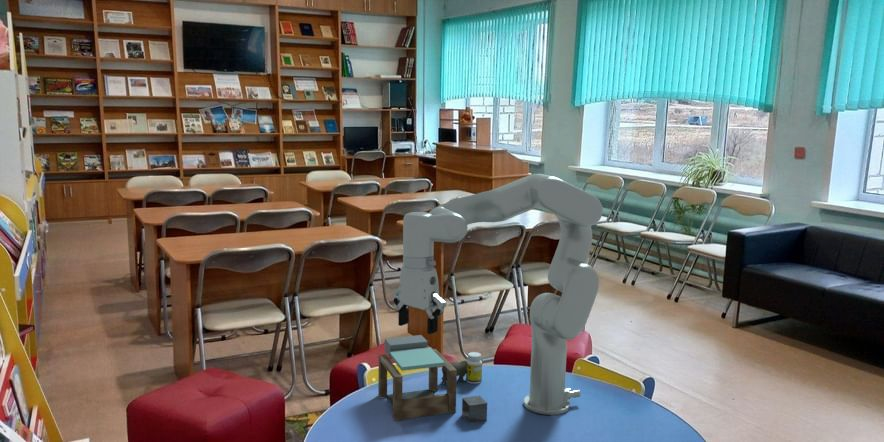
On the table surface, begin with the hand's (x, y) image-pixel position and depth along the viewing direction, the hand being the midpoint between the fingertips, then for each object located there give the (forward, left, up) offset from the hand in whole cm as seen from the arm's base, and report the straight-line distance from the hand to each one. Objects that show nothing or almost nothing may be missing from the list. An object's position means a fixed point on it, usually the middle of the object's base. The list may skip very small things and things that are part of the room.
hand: (417, 328), depth 173 cm
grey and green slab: (-4, -16, -15) cm, 22 cm away
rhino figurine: (-22, -24, -26) cm, 42 cm away
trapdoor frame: (-4, -12, -26) cm, 29 cm away
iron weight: (-16, +1, -26) cm, 30 cm away
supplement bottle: (-25, -22, -26) cm, 42 cm away
